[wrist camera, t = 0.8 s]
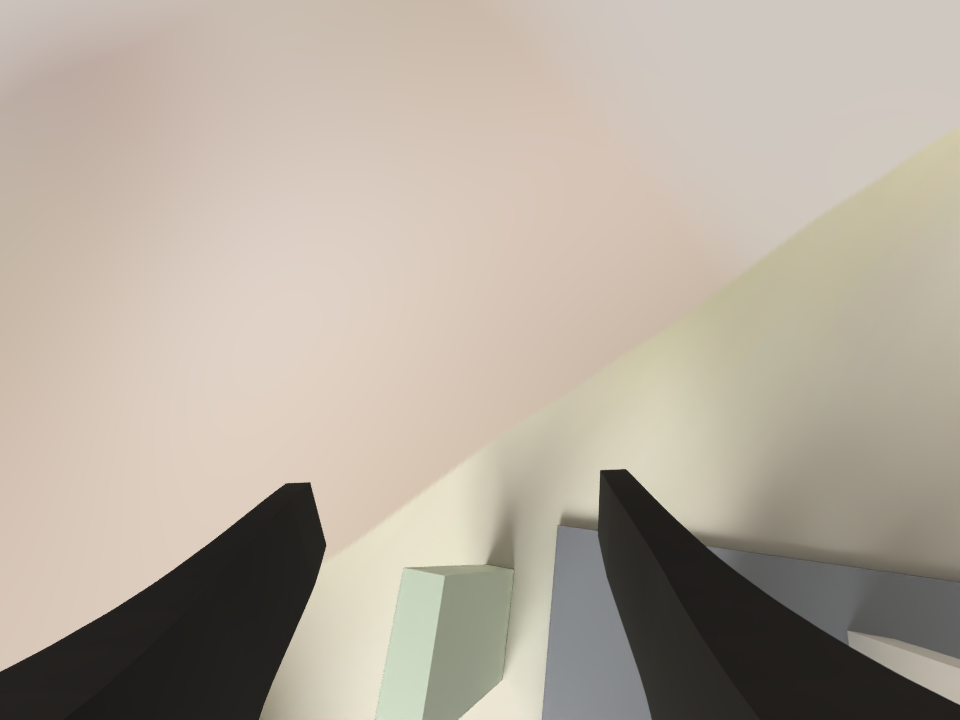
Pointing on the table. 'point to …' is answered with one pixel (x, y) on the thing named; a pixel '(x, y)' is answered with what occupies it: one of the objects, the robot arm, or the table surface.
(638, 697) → the slate board
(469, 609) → the sage domino
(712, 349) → the table surface
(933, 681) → the ivory domino
